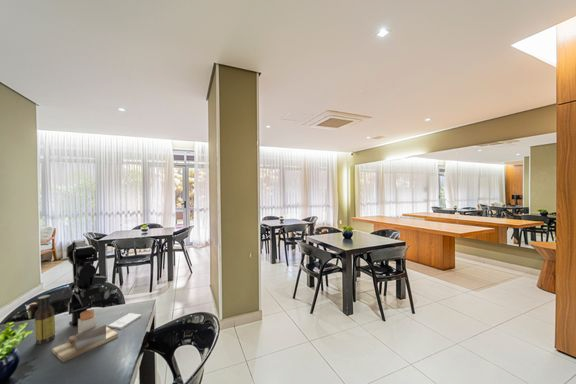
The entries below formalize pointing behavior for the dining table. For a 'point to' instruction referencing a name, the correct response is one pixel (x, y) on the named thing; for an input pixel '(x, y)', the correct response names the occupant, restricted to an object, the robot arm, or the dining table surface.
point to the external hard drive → (124, 321)
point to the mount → (84, 342)
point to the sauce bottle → (44, 320)
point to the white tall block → (86, 321)
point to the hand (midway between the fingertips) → (84, 306)
